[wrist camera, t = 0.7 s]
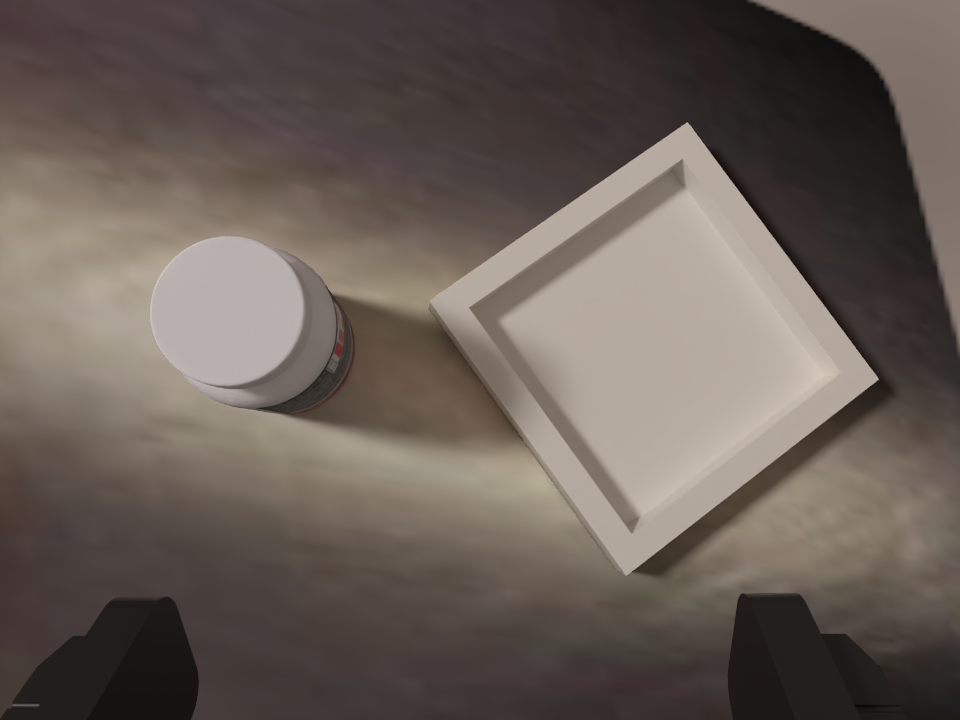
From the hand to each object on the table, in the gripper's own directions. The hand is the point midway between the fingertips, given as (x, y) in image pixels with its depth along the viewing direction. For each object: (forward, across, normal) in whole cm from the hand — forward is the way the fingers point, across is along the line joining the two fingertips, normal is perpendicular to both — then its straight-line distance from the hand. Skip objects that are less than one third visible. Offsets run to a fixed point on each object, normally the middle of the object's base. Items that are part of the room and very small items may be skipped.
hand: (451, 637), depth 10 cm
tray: (+23, -6, +6) cm, 24 cm away
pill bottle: (+21, +9, +5) cm, 23 cm away
